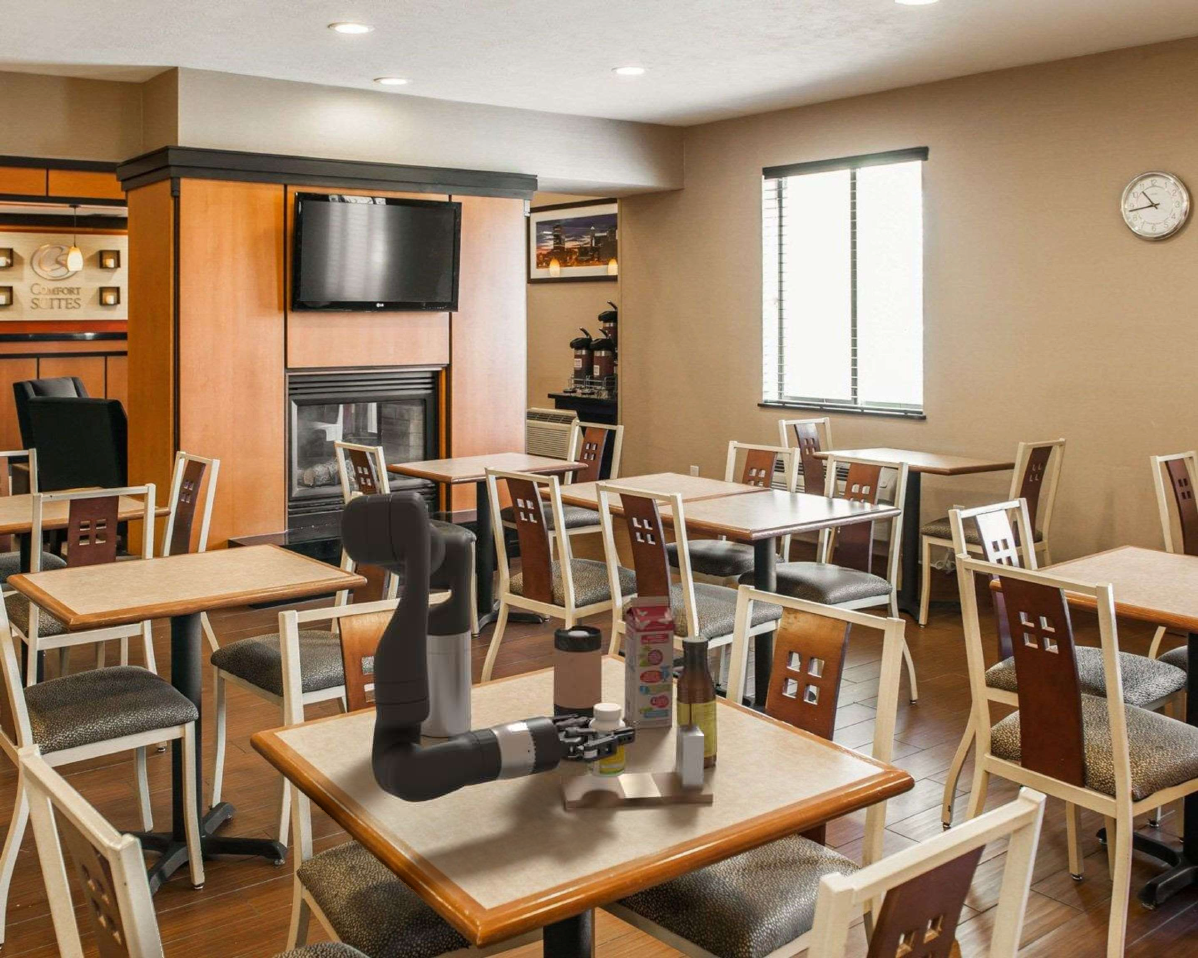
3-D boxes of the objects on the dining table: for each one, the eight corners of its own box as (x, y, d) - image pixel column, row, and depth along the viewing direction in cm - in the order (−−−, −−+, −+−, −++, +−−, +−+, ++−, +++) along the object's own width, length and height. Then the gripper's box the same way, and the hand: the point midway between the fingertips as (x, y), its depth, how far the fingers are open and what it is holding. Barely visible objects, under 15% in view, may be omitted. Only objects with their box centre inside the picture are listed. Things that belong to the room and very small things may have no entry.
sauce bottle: (722, 759, 182) (725, 636, 179) (708, 772, 176) (711, 646, 174) (683, 752, 185) (685, 631, 182) (669, 765, 179) (671, 640, 177)
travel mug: (595, 763, 179) (596, 638, 177) (548, 759, 181) (548, 635, 178) (605, 747, 187) (606, 626, 184) (559, 743, 188) (560, 623, 186)
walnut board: (566, 808, 162) (566, 800, 162) (560, 784, 171) (560, 776, 171) (712, 802, 165) (712, 793, 165) (698, 778, 174) (699, 770, 174)
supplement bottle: (631, 770, 167) (633, 705, 166) (611, 781, 163) (613, 715, 162) (600, 762, 170) (602, 698, 169) (580, 773, 166) (581, 707, 165)
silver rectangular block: (682, 789, 166) (683, 736, 165) (675, 776, 171) (676, 724, 170) (703, 788, 167) (704, 735, 166) (695, 775, 172) (696, 724, 171)
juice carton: (624, 716, 202) (626, 593, 199) (660, 713, 204) (662, 591, 201) (634, 729, 196) (636, 602, 193) (672, 726, 197) (674, 600, 194)
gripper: (545, 737, 152) (651, 717, 161) (495, 707, 164) (596, 690, 173) (545, 792, 153) (650, 769, 162) (495, 758, 165) (595, 738, 174)
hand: (621, 728), depth 167 cm, fingers closed on supplement bottle, 5 cm apart
